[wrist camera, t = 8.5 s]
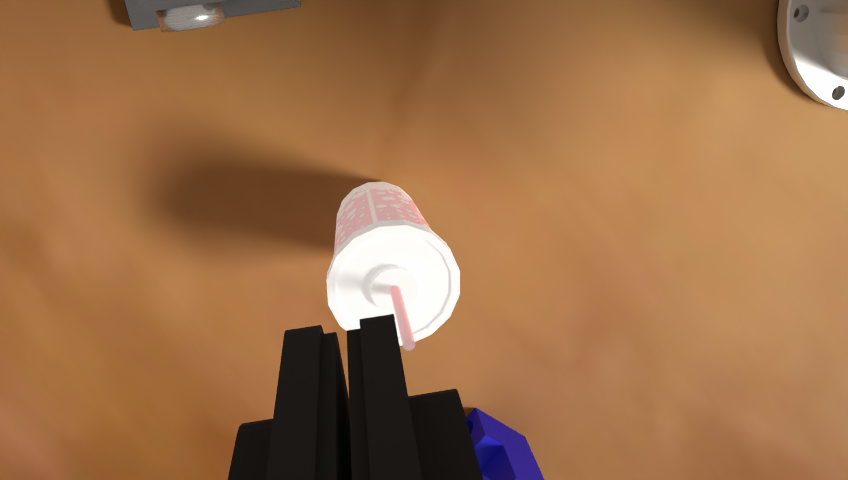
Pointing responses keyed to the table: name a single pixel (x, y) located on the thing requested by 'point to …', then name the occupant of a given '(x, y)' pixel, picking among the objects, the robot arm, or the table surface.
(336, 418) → the robot arm
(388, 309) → the beverage cup
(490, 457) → the cable clip
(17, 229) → the table surface
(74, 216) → the table surface
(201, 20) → the beam stand
